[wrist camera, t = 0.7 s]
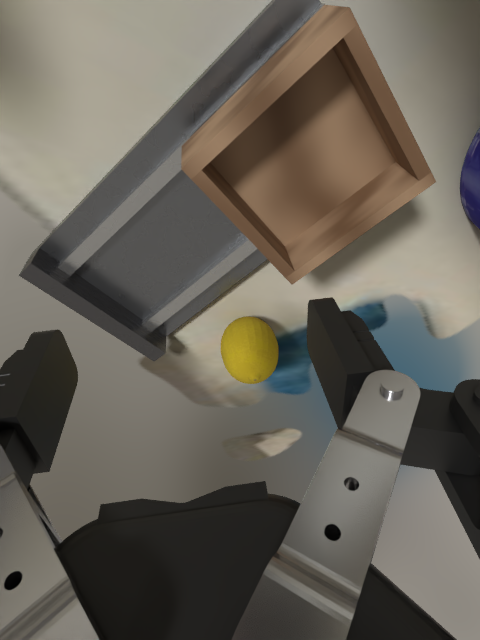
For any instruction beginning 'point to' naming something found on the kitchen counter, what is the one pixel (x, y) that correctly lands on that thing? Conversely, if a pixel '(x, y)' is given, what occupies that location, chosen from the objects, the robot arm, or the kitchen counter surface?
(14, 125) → the kitchen counter surface
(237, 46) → the track
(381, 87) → the wooden tray box
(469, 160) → the dog bowl
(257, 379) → the lemon
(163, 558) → the robot arm
